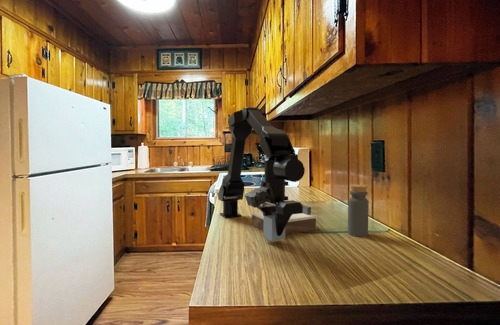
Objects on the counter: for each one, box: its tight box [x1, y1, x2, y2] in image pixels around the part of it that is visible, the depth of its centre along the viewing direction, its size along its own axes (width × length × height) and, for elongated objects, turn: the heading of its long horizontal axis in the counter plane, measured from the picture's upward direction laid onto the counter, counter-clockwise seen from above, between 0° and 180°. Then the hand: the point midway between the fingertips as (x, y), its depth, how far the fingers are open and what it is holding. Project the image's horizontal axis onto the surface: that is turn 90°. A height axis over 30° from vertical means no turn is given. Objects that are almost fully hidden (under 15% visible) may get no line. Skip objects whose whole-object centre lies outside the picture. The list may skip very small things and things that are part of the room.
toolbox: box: [251, 214, 317, 235], centre depth 99 cm, size 14×16×4 cm
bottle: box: [347, 184, 370, 238], centre depth 91 cm, size 6×6×15 cm
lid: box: [251, 204, 318, 222], centre depth 99 cm, size 14×16×3 cm
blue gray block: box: [263, 215, 286, 242], centre depth 84 cm, size 4×4×6 cm
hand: (274, 233), depth 84 cm, fingers closed on blue gray block, 4 cm apart
